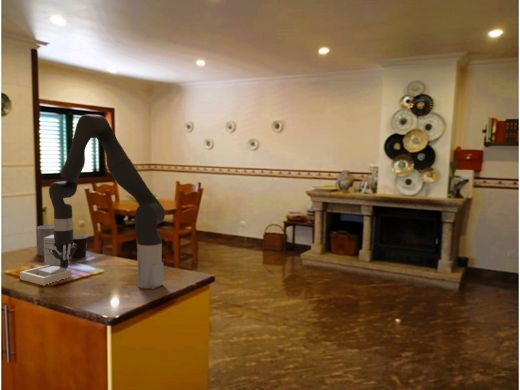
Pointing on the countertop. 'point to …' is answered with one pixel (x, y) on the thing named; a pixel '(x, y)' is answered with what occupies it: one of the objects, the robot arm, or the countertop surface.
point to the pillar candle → (43, 236)
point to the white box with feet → (50, 270)
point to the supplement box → (48, 256)
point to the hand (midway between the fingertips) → (64, 267)
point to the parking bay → (35, 278)
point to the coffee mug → (80, 246)
